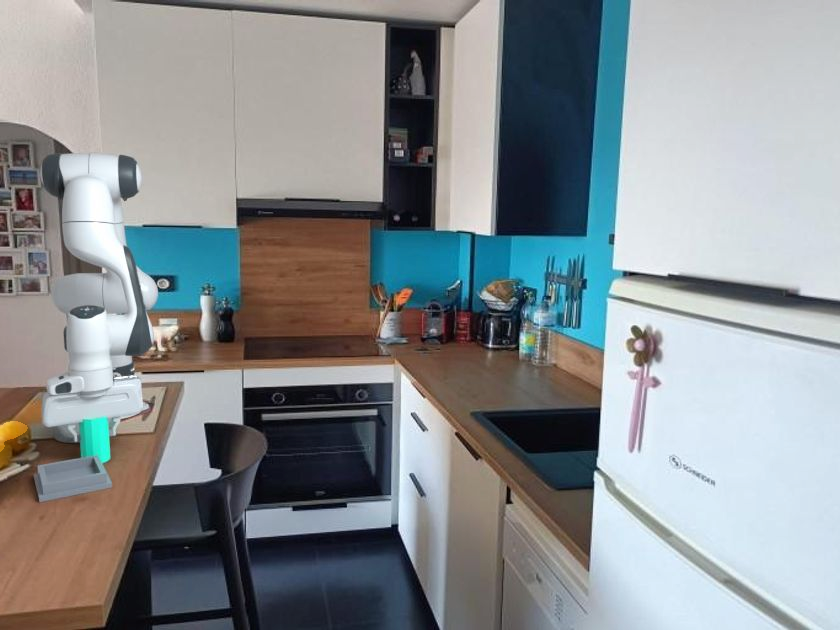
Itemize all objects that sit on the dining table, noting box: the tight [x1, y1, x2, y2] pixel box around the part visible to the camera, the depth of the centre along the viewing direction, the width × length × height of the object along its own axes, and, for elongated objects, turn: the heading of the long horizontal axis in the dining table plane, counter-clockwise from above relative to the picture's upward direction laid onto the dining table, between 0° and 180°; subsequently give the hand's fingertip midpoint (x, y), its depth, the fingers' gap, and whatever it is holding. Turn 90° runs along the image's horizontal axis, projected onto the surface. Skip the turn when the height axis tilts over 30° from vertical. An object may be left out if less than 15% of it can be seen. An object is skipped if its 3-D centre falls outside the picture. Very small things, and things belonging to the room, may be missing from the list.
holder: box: [33, 455, 113, 503], centre depth 135 cm, size 13×13×3 cm
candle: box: [79, 417, 111, 464], centre depth 147 cm, size 6×6×12 cm
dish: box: [51, 418, 114, 444], centre depth 163 cm, size 14×14×5 cm
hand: (95, 438), depth 147 cm, fingers closed on candle, 5 cm apart
